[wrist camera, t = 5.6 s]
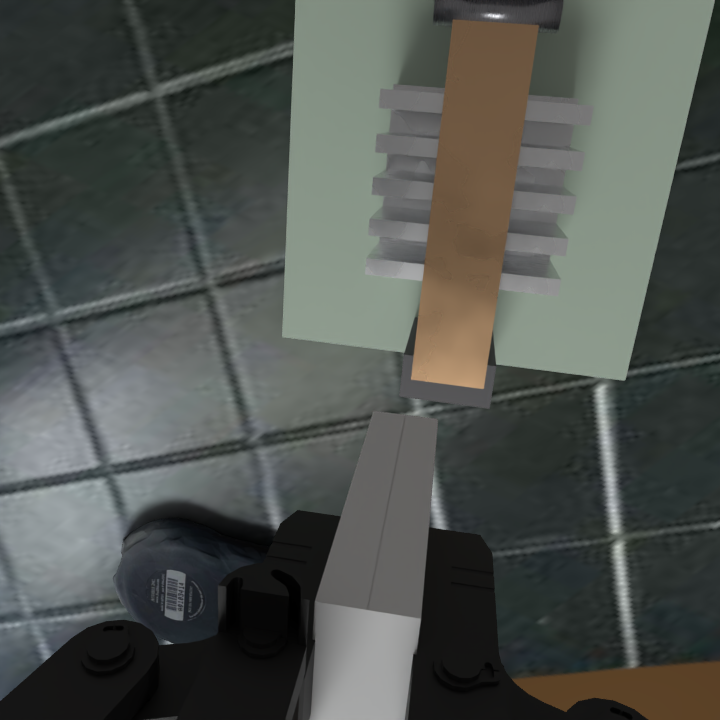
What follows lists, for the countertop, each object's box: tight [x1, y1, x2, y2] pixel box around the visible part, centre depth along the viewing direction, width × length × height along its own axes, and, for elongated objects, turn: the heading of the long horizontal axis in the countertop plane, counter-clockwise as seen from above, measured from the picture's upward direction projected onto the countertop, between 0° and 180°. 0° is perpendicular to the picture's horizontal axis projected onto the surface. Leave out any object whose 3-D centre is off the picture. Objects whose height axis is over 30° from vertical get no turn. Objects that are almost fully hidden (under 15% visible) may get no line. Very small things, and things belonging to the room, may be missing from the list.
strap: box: [411, 0, 564, 389], centre depth 26 cm, size 4×15×1 cm, turn 175°
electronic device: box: [113, 518, 270, 644], centre depth 43 cm, size 9×6×15 cm
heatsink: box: [365, 84, 594, 296], centre depth 29 cm, size 8×8×6 cm
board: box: [282, 0, 715, 409], centre depth 28 cm, size 18×18×10 cm
